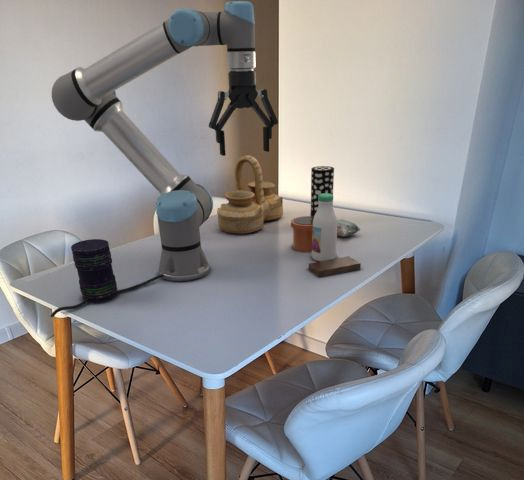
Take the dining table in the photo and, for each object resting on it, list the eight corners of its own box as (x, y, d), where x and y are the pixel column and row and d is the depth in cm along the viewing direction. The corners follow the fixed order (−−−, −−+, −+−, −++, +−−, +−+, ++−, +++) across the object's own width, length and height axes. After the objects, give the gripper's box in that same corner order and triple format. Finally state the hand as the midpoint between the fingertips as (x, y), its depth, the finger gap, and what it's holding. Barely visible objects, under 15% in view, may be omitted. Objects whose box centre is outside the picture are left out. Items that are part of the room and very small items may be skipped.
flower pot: (299, 254, 168) (299, 227, 163) (285, 244, 177) (285, 218, 172) (329, 249, 171) (330, 222, 167) (314, 239, 180) (314, 214, 176)
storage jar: (125, 295, 143) (115, 244, 136) (93, 307, 137) (81, 253, 130) (107, 286, 150) (97, 236, 142) (76, 296, 144) (64, 245, 136)
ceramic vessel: (253, 238, 184) (250, 166, 171) (209, 233, 191) (203, 163, 179) (291, 214, 210) (290, 149, 197) (251, 210, 217) (248, 147, 205)
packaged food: (344, 241, 178) (345, 227, 175) (319, 234, 185) (320, 220, 183) (360, 235, 183) (361, 222, 180) (335, 229, 190) (336, 216, 188)
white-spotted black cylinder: (307, 220, 201) (308, 167, 191) (326, 217, 203) (328, 165, 193) (315, 226, 195) (316, 171, 184) (335, 223, 197) (337, 169, 187)
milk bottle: (335, 253, 167) (338, 191, 157) (336, 262, 161) (339, 197, 151) (312, 253, 168) (313, 191, 158) (311, 262, 161) (312, 197, 151)
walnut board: (319, 277, 150) (319, 271, 149) (308, 269, 156) (308, 263, 155) (360, 269, 155) (360, 263, 154) (348, 262, 160) (348, 256, 159)
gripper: (201, 72, 132) (207, 158, 142) (289, 69, 140) (289, 151, 150) (193, 71, 138) (200, 154, 148) (278, 68, 146) (278, 147, 156)
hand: (244, 153), depth 149 cm, fingers open, 13 cm apart
